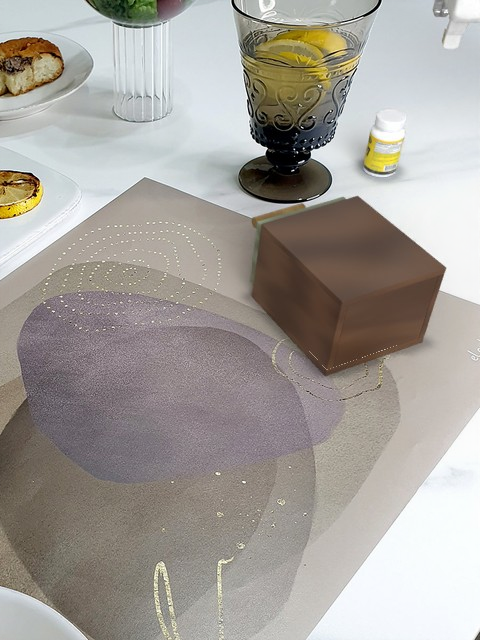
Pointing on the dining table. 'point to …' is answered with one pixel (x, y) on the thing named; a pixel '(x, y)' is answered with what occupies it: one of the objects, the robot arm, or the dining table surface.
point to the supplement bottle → (385, 143)
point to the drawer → (277, 215)
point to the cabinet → (345, 283)
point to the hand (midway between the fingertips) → (444, 30)
